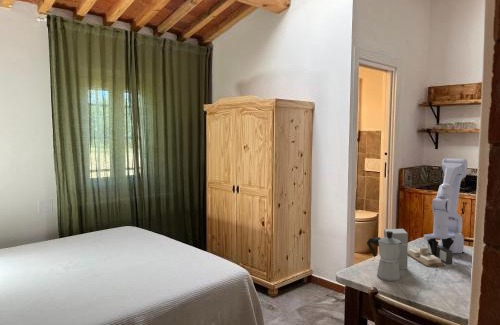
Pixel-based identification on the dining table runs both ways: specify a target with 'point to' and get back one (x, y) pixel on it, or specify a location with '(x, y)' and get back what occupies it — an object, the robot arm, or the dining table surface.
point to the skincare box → (403, 237)
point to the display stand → (424, 257)
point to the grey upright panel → (442, 254)
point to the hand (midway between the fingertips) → (439, 254)
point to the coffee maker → (387, 256)
